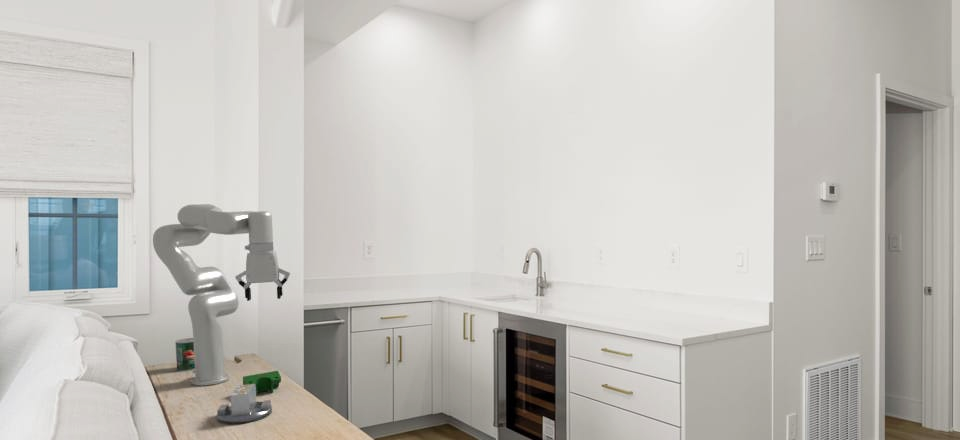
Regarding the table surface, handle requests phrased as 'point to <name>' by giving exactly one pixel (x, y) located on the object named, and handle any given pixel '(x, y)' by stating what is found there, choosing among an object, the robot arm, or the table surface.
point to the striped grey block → (243, 399)
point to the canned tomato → (185, 354)
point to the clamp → (263, 381)
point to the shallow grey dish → (257, 413)
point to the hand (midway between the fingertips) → (264, 299)
